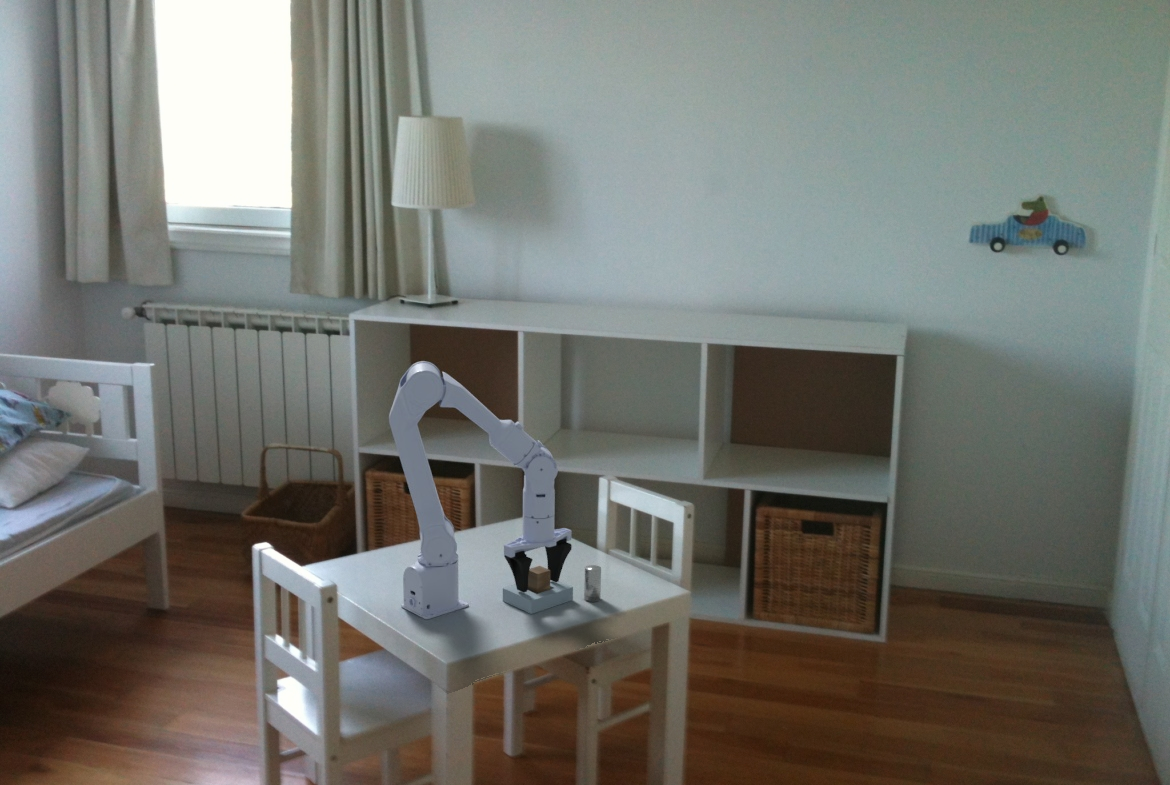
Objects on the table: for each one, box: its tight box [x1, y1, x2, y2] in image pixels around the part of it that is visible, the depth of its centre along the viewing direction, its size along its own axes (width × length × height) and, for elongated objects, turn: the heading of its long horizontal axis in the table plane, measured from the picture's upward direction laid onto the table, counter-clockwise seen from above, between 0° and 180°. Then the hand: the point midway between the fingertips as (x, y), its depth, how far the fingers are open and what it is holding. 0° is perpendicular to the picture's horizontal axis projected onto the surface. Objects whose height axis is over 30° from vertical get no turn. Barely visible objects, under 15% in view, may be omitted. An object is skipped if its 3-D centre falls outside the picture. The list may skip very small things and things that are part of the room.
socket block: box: [502, 580, 574, 615], centre depth 207 cm, size 10×8×2 cm
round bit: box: [583, 564, 602, 603], centre depth 208 cm, size 3×3×6 cm
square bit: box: [527, 565, 550, 594], centre depth 206 cm, size 3×3×6 cm
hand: (538, 585), depth 207 cm, fingers open, 7 cm apart
